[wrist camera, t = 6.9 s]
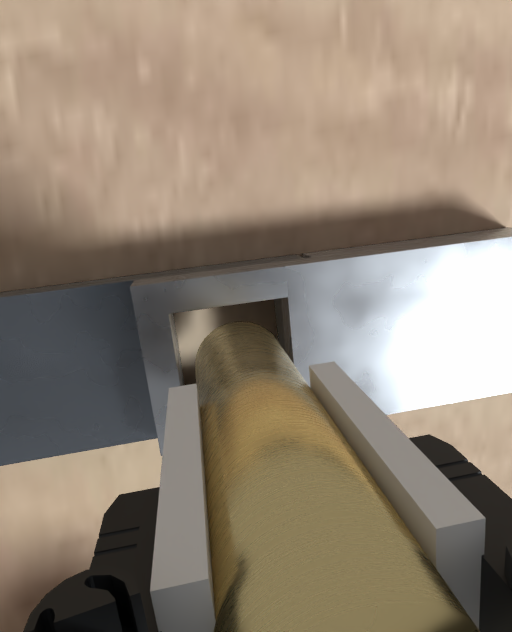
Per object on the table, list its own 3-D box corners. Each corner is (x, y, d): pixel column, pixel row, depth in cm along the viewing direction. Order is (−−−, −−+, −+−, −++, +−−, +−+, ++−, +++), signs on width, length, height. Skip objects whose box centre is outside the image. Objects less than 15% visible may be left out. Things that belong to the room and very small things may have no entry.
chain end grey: (164, 420, 20) (161, 455, 17) (138, 274, 19) (129, 286, 16) (501, 362, 23) (547, 385, 20) (507, 227, 21) (559, 230, 18)
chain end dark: (-126, 471, 19) (-152, 492, 17) (-186, 316, 17) (-221, 326, 15) (307, 396, 21) (316, 409, 20) (296, 254, 19) (305, 258, 18)
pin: (201, 411, 17) (237, 860, 5) (189, 328, 16) (199, 646, 4) (286, 397, 17) (493, 783, 6) (279, 315, 16) (506, 574, 5)
